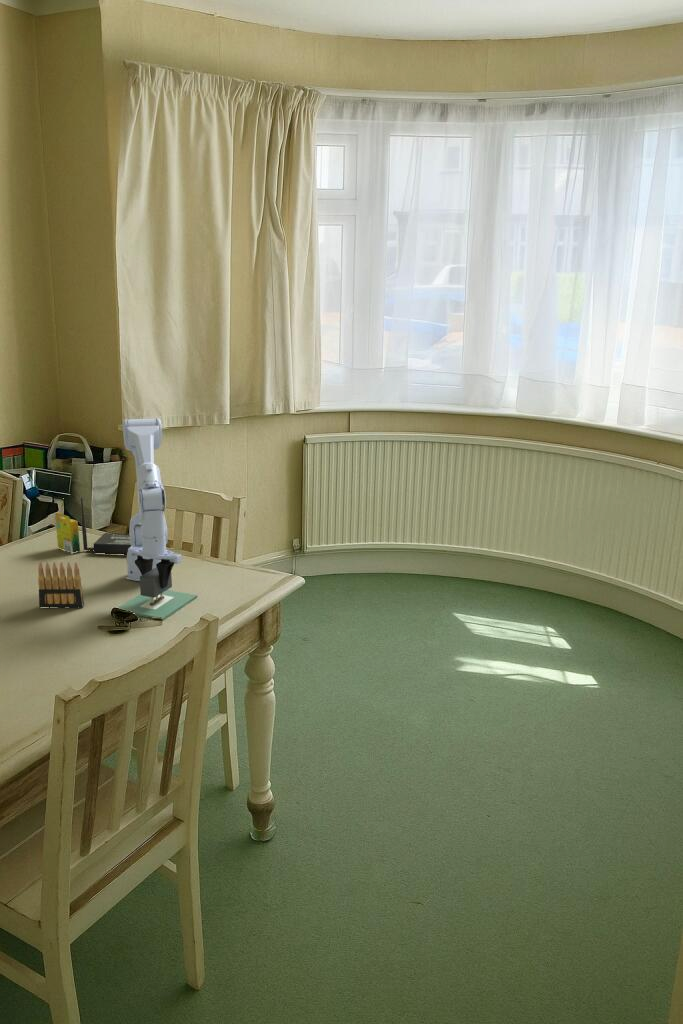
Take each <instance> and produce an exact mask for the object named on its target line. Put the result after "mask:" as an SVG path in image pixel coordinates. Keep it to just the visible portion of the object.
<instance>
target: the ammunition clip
mask: <svg viewBox="0 0 683 1024" xmlns="http://www.w3.org/2000/svg"><path fill="white" fill-rule="evenodd" d="M73 568H74V569H73ZM73 568H72V565H71V563H70V562H67V566H66V570H65V565H64V563H63V562H60V565H59V573H58V565H57V564H56V562H55V561H54V562H53V564H52V573H51V567H50V563H49V562H46V564H45V572H44V567H43V564H42V562H39V563H38V578H37V579H38V581H37V582H38V606H39V607H49V608H48V609H51V608H50V607H58V608H57V609H66V608H65V607H69V608H68V609H83V608H84V607H85V602H84V601H85V599H84V594H83V587H82V578H81V575H80V568H79V564H78V562H74V566H73ZM73 570H74V571H73ZM65 571H66V572H65ZM73 575H74V576H73ZM78 607H79V608H78Z"/></svg>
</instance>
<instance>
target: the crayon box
mask: <svg viewBox="0 0 683 1024" xmlns="http://www.w3.org/2000/svg"><path fill="white" fill-rule="evenodd" d="M54 514H55V516H54V517H55V528H56V539H57V548H58V547H59V548H61V549H64V550H66V551H69V552H76V551H80V552H81V548H80V545H81V544H80V543H81V542H80V534H79V525H78V523H79V522H78V520H75V519H71V518H70V517H71V516H68V515H66V514H62V513H58V512H54Z"/></svg>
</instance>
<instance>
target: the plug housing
mask: <svg viewBox="0 0 683 1024" xmlns="http://www.w3.org/2000/svg"><path fill="white" fill-rule="evenodd" d="M172 582H173V581H172V571H171V572H170V576H169V579H168V585H167V587H165V588H163V589H162V588H161V587H160V578H159V573H158V569H157V567H156V568H154V569H152V570H151V571H149V572H147V573H145V574H143V575H142V576H140V581H139V588H140V594H141V595H142V596H147V597H153V598H155V597H156V596H158V595H160V594H161V593H163V592H164V591H166V590H170V589H171V588H173V583H172Z"/></svg>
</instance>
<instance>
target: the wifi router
mask: <svg viewBox="0 0 683 1024" xmlns="http://www.w3.org/2000/svg"><path fill="white" fill-rule="evenodd" d="M80 508H81V532H82V545H83V551H84V550H90V551H89V552H93V554H94V553H105V554H124V555H127V553H128V549H129V548H130V547H131V542H130V533H128V534H126V533H124V534H123V533H121V534H120V533H118V534H117V533H115V534H114V533H113V532H104V533H103V534H102V535H101V536H100V537H99V538H98V539H97V540H95V542H94V543H93V547H88V536H87V527H86V523H87V522H86V518H85V517H86V516H85V511H84V498H83V497H81V498H80ZM93 550H94V551H93Z"/></svg>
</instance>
